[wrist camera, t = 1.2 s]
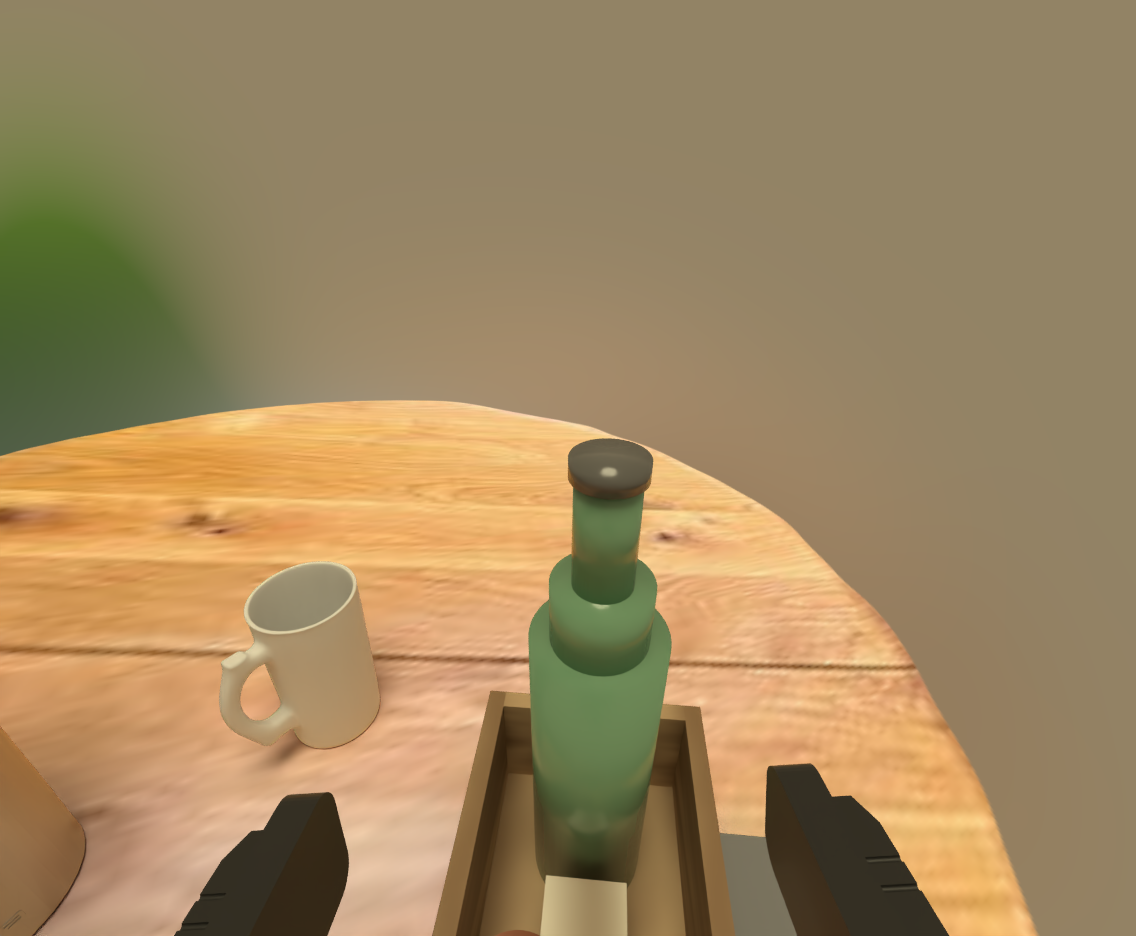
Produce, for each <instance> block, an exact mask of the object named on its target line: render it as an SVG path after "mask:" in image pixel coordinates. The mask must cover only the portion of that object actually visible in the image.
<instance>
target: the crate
mask: <svg viewBox="0 0 1136 936" xmlns="http://www.w3.org/2000/svg"><path fill="white" fill-rule="evenodd" d="M432 936H735V930H734V923H733V917H732V910H731V904H730V898H729V891H728V885H727V878H726V872H725V865H724V859H723V852H722V846H721V839H720V833H719V826H718V820H717V813H716V807H715V801H714V794H713V788H712V781H711V775H710V768H709V762H708V755H707V749H706V742H705V736H704V729H703V723H702V717H701V710H700V707H693V706H680V705H668V704H663V705H662V711H661V717H660V723H659V730H658V736H657V742H656V749H655V755H654V761H653V767H652V774H651V780H650V786H649V793H648V799H647V805H646V812H645V818H644V824H643V830H642V837H641V843H640V849H639V856H638V862H637V867H636V871H635V874H634V877H633V879H632V881H631V883H630V885H629V886H628V888H627V883H620V882H610V881H599V880H589V879H579V878H569V877H559V876H548V875H546V881H545V883H544V881H543V879H542V878H541V875H540V873H539V870H538V867H537V863H536V856H535V831H534V799H533V767H532V734H531V702H530V694H526V693H513V692H500V691H490V695H489V700H488V704H487V708H486V712H485V716H484V721H483V725H482V729H481V733H480V737H479V742H478V746H477V750H476V754H475V758H474V763H473V767H472V771H471V775H470V779H469V784H468V788H467V792H466V796H465V800H464V805H463V809H462V813H461V817H460V821H459V826H458V830H457V834H456V838H455V842H454V847H453V851H452V855H451V859H450V863H449V868H448V872H447V876H446V880H445V884H444V889H443V893H442V897H441V901H440V905H439V910H438V914H437V918H436V922H435V926H434V931H433V935H432Z"/></svg>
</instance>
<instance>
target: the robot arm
mask: <svg viewBox="0 0 1136 936" xmlns="http://www.w3.org/2000/svg"><path fill="white" fill-rule="evenodd" d="M765 834H766V843H767V848H768V853H769V858H770V861H771V865H772V868H773V871H774V874H775V877H776V880H777V882H778V885H779V888H780V890H781V893H782V896H783V899H784V901H785V904H786V907H787V909H788V912H789V915H790V918H791V920H792V923H793V926H794V928H795V931H796V934H797V936H949V935H948V933H947V931H946V930H945V928H944V927H943V925H942V923H941V922H940V920H939V918H938V917H937V915H936V913H935V912H934V910H933V909H932V907H931V905H930V904H929V902H928V900H927V899H926V897H925V896H924V894H923V892H922V891H920V890H919V889H918V887H917V883H916V881H915V879H914V878H913V876H912V874H911V873H910V871H909V869H908V868H907V866H906V865H905V863H904V862H902V861H901V859H900V855H899V853H898V852H897V850H896V848H895V847H894V845H893V843H892V842H891V840H890V839H889V837H888V835H887V834H886V832H885V830H884V829H883V827H882V825H881V824H880V822H879V821H878V820H877V819H875V818H874V817H873V816H872V815H871V814H870V813H869V812H868V811H867V810H866V809H865V808H864V807H862V806H861V805H860V804H859V803H858V802H857V801H856V800H855V799H854V798H853V797H852V796H837V797H832V796H831V794H830V792H829V791H828V789H827V787H826V785H825V783H824V781H823V780H822V778H821V776H820V774H819V772H818V771H817V769H816V768H815V767H814V766H813V765H812V764H793V765H777V766H769V767H768V769H767V785H766V817H765ZM84 851H85V836H84V832H83V828H82V827H81V825H80V824H79V823H78V822H77V820H76V819H75V818H74V816H73V815H72V814H71V813H70V811H69V810H68V809H67V808H66V806H65V805H64V804H63V803H62V801H61V800H60V799H59V798H58V797H57V795H56V794H55V793H54V792H53V790H52V789H51V787H50V786H49V785H48V784H47V782H46V781H45V780H44V779H43V778H42V776H41V775H40V774H39V773H38V771H37V770H36V769H35V768H34V767H33V765H32V764H31V763H30V762H29V760H28V759H27V758H26V757H25V756H24V754H23V753H22V752H21V751H20V750H19V748H18V747H17V746H16V745H15V743H14V742H13V741H12V740H11V739H10V737H9V736H8V735H7V734H6V732H5V731H4V730H3V729H2V728H1V726H0V936H32V935H33V934H34V933H35V932H36V931H37V929H38V928H39V927H40V926H41V925H42V924H43V923H44V922H45V921H46V919H47V918H48V917H49V916H50V915H51V914H52V913H53V912H54V910H55V909H56V907H57V906H58V905H59V903H60V902H61V900H62V899H63V898H64V896H65V895H66V893H67V892H68V890H69V889H70V887H71V885H72V883H73V881H74V879H75V877H76V876H77V874H78V872H79V869H80V866H81V863H82V860H83V857H84ZM348 868H349V857H348V850H347V846H346V842H345V838H344V834H343V831H342V827H341V823H340V819H339V815H338V811H337V807H336V803H335V799H334V797H333V795H332V794H331V793H329V792H325V793H310V794H294V795H287V796H286V797H284V798H283V799H282V800H281V802H280V803H279V805H278V806H277V808H276V810H275V811H274V813H273V815H272V816H271V818H270V820H269V821H268V823H267V825H266V826H265V828H264V830H259V831H251V832H250V833H249V834H248V835H247V836H246V837H245V838H244V839H243V840H242V841H241V842H240V843H239V844H238V845H237V846H236V847H235V848H234V849H233V850H232V851H231V852H230V853H229V854H228V855H227V856H226V857H225V858H224V859H223V860H222V861H221V862H220V864H219V866H218V867H217V869H216V870H215V872H214V873H213V875H212V877H211V878H210V880H209V881H208V883H207V884H206V886H205V888H204V889H203V891H202V892H201V894H200V899H199V901H196V902H195V903H194V905H193V907H192V908H191V910H190V911H189V913H188V914H187V916H186V918H185V919H184V921H183V922H182V927H181V929H180V931H177V932H176V933H175V935H174V936H327V935H328V933H329V930H330V927H331V925H332V922H333V920H334V917H335V914H336V912H337V909H338V907H339V904H340V902H341V899H342V896H343V893H344V890H345V886H346V882H347V876H348Z"/></svg>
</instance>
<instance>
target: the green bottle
mask: <svg viewBox="0 0 1136 936" xmlns="http://www.w3.org/2000/svg"><path fill="white" fill-rule="evenodd" d="M652 468H653V457H652V455H651V454H650V452H649V451H648V450H646V449H645V448H643V447H642V446H640V445H638V444H635V443H633V442H629V441H625V440H620V439H594V440H589V441H585V442H583V443H580V444H578V445H576V446H575V447H573V448H572V449H571V451H570V452H569V455H568V480H569V482H570V484H571V485H572V486H573V519H572V554H570V555H568V556H566V557H565V558H563V559H562V560H560V561H559V562H558V563H557V564H556V566H555V567H554V568H553V570H552V572H551V574H550V578H549V600H548V601H547V602H545V603H544V604H543V605H542V606H541V607H540V608H539V610H538V611H537V612H536V614H535V615H534V617H533V619H532V622H531V625H530V628H529V670H530V702H531V734H532V767H533V799H534V831H535V856H536V863H537V867H538V870H539V873H540V875H541V878H542V879H543V881H544V883H545V881H546V875H548V876H559V877H569V878H579V879H589V880H599V881H610V882H620V883H627V888H628V886H629V885H630V883H631V881H632V879H633V877H634V874H635V871H636V867H637V862H638V856H639V849H640V843H641V837H642V830H643V824H644V818H645V812H646V805H647V799H648V793H649V786H650V780H651V774H652V767H653V761H654V755H655V749H656V742H657V736H658V730H659V723H660V717H661V711H662V705H663V698H664V692H665V686H666V679H667V673H668V667H669V660H670V654H671V635H670V632H669V629H668V626H667V624H666V622H665V620H664V619H663V617H662V616H661V615H660V613H659V612H658V611H657V610H656V609H655V603H656V595H657V582H656V579H655V577H654V575H653V573H652V571H651V570H650V569H649V568H648V567H647V566H646V565H645V564H644V563H643V562H642V561H640V560H639V559H638V549H639V539H640V529H641V520H642V510H643V500H644V491H646V490H647V489H648V488H649V486H650V484H651V477H652Z"/></svg>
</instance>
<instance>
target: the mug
mask: <svg viewBox="0 0 1136 936" xmlns="http://www.w3.org/2000/svg"><path fill="white" fill-rule="evenodd" d="M244 617H245V620H246V622H247V624H248V625H249V627H250V630H251V633H252V636H253V638H254V643H253V645H252V647H251V648H250V649H248V650H247V651H245V652H241V651H239V652H236V653H235V654H233V655H232V656H230V657H229V658H227V659H225V660H223V661H222V662H221V665H222V670H223V671H222V680H221V686H220V696H219V705H220V712H221V715H222V717H223V720H224V721H225V723H226V724H227V725H228V727H229V728H230V729H231V730H233V731H234V732H235V733H237V734H239V735H241V736H243V737H245V738H248V739H250V740H252V741H255V742H257V743H259V744H261V745H264V746H271V745H272V744H274V743H275V742H276V741H277V740H278V739H279V738H280V737H281V736H283V735H284V734H285V733H286V732H288V731H289V730H291V729H293V730H294V732H295V734H296V736H297V737H298V739H299V740H300V741H301V742H302V743H304V744H305V745H307V746H310V747H313V748H321V749H324V748H332V747H337V746H340V745H343V744H345V743H347V742H349V741H351V740H353V739H355V738H356V737H358V736H359V735H360V734H361V733H363V732H364V731H365V730H366V729H367V728H368V727H369V726H370V724H371V723H372V722H373V720H374V719H375V717H376V715H377V713H378V710H379V706H380V693H379V687H378V682H377V676H376V671H375V667H374V662H373V657H372V653H371V648H370V643H369V638H368V633H367V628H366V624H365V619H364V614H363V609H362V604H361V599H360V595H359V591H358V587H357V581H356V577H355V575H354V573H353V572H352V571H351V570H350V569H349V568H348V567H346V566H344V565H342V564H339V563H334V562H326V561H318V562H309V563H303V564H299V565H296V566H293V567H290V568H287V569H285V570H282V571H280V572H278V573H276V574H274V575H273V576H271V577H269V578H268V579H266V580H265V581H264V582H262V583H261V584H260V585H259V586H258V587H257V588H256V589H255V590H254V591H253V592H252V593H251V595H250V596H249V598H248V599H247V601H246V604H245V607H244ZM263 664H265V666H266V668H267V670H268V673H269V675H270V677H271V680H272V682H273V684H274V686H275V689H276V691H277V693H278V696H279V698H280V702H281V705H280V707H279V708H278V710H277V711H276V712H275V713H274V714H272V715H271V716H270V717H268V718H267V719H265V720H259V721H255V720H252V719H250V718H249V717H247V716H246V714H245V713H244V712H243V710H242V707H241V704H240V696H241V691H242V688H243V685H244V683H245V681H246V679H247V678H248V676H249V675H250V674H251V673H252V672H253V671H254V670H255V669H256V668H258V667H259V666H261V665H263Z"/></svg>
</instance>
